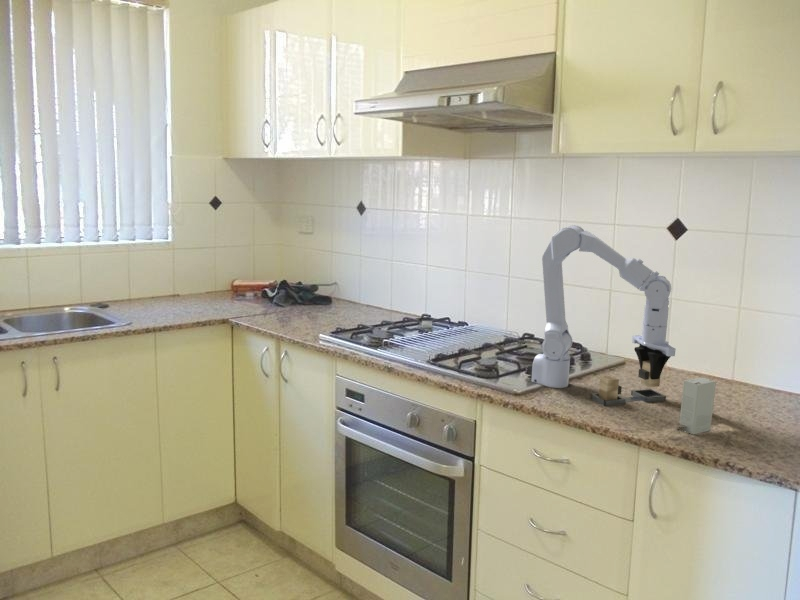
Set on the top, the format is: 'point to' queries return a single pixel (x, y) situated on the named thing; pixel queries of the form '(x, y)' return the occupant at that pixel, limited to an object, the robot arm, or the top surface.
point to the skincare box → (697, 405)
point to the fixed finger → (609, 388)
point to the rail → (639, 395)
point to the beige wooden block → (647, 376)
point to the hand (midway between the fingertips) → (650, 376)
